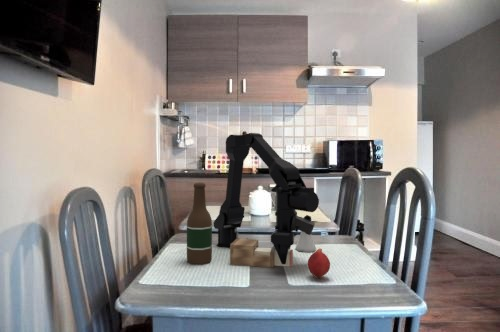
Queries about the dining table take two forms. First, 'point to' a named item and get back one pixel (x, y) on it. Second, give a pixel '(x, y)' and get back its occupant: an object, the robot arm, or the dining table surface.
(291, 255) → the pink-topped cream pillar
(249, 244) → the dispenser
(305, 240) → the flask
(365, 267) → the dining table surface
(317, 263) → the onion
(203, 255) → the beer bottle
